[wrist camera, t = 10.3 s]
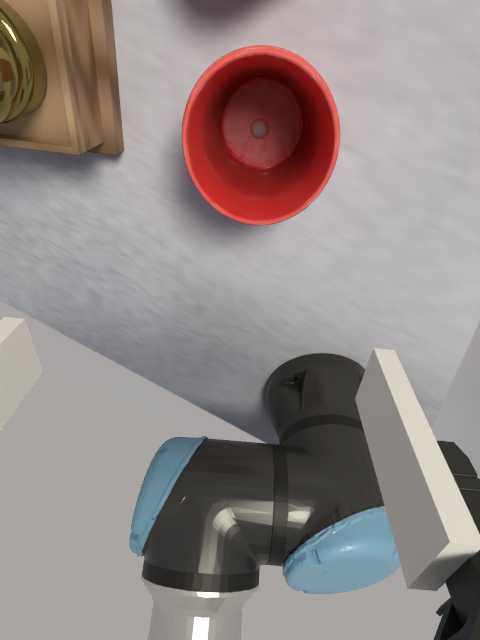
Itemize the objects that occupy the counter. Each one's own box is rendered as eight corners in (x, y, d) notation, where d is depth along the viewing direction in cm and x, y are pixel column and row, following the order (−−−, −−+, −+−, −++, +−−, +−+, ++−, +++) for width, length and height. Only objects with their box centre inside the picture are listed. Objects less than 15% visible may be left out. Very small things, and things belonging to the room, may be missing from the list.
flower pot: (199, 181, 35) (180, 217, 27) (204, 39, 28) (181, 33, 20) (306, 194, 35) (318, 235, 27) (336, 57, 28) (363, 58, 21)
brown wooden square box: (123, 150, 33) (94, 170, 28) (-16, 132, 33) (-74, 149, 27) (107, -45, 26) (61, -74, 20) (-75, -70, 25) (-175, -106, 20)
